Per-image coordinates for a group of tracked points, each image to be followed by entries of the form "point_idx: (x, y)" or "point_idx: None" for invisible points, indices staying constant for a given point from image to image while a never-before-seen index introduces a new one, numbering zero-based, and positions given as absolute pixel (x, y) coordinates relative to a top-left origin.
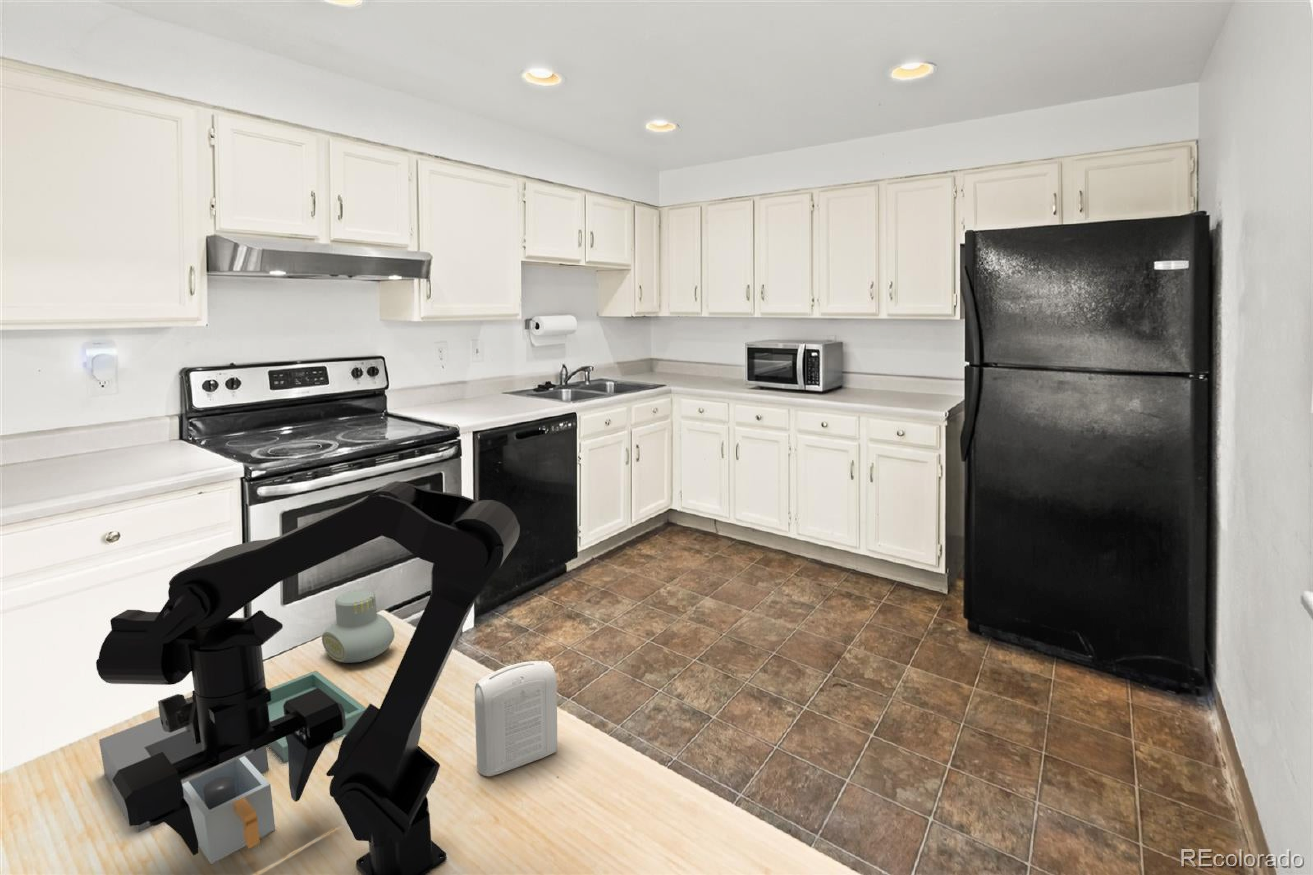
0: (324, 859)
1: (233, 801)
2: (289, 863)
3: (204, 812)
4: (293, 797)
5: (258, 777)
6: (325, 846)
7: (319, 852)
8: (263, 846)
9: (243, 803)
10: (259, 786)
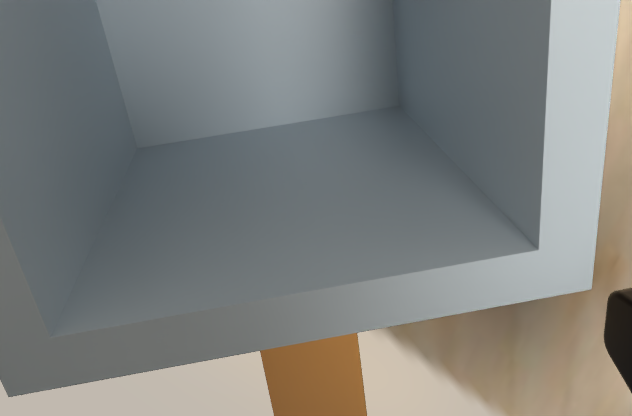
0: (505, 390)
1: (266, 345)
2: (404, 341)
3: (3, 350)
4: (619, 342)
5: (568, 110)
6: (539, 333)
7: (509, 350)
8: None
9: (332, 405)
10: (513, 263)
